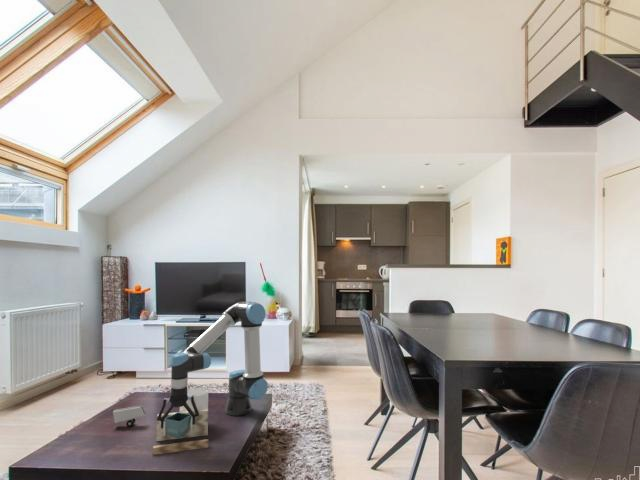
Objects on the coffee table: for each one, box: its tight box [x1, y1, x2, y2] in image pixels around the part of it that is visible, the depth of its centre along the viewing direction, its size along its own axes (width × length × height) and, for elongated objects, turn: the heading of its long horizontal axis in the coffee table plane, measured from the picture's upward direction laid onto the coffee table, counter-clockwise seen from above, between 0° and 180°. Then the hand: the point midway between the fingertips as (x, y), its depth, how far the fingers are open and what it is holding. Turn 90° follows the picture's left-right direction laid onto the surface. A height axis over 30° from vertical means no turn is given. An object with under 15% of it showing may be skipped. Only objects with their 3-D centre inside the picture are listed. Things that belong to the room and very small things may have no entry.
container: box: [179, 387, 209, 412], centre depth 202 cm, size 14×14×18 cm
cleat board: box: [152, 408, 209, 456], centre depth 183 cm, size 24×16×12 cm, turn 107°
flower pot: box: [165, 412, 191, 439], centre depth 182 cm, size 9×9×9 cm
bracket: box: [112, 405, 147, 428], centre depth 202 cm, size 4×10×15 cm
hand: (177, 433), depth 182 cm, fingers closed on flower pot, 11 cm apart
